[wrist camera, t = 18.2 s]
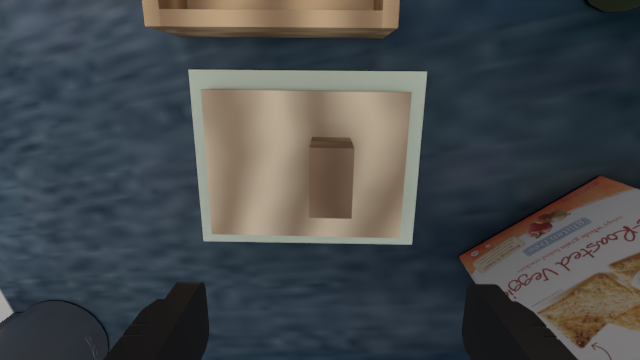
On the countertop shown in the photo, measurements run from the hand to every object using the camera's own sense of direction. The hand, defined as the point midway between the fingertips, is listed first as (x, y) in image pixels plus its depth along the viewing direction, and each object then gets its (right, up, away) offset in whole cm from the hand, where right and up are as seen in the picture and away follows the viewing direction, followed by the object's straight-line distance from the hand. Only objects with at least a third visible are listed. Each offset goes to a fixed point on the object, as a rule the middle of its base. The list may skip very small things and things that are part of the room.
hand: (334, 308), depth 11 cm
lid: (-2, +5, +19) cm, 20 cm away
